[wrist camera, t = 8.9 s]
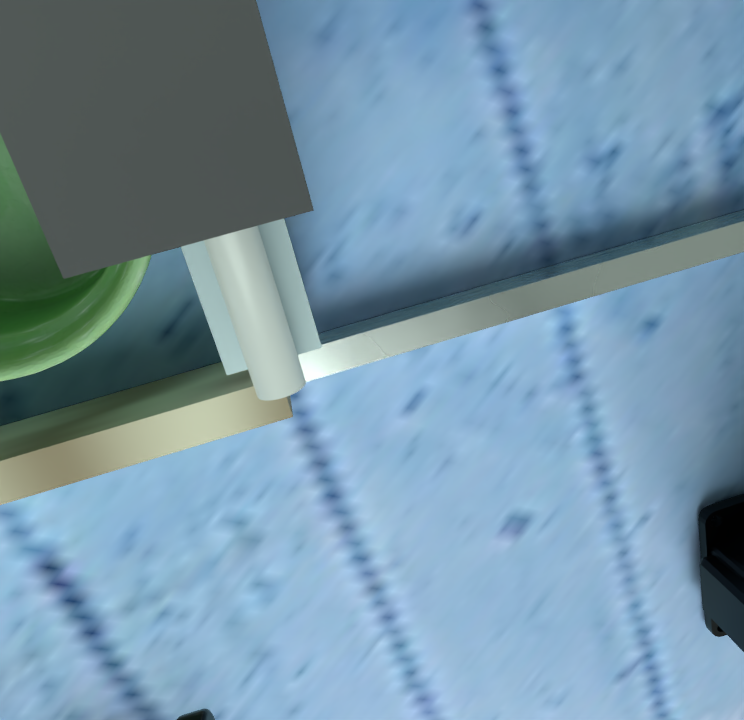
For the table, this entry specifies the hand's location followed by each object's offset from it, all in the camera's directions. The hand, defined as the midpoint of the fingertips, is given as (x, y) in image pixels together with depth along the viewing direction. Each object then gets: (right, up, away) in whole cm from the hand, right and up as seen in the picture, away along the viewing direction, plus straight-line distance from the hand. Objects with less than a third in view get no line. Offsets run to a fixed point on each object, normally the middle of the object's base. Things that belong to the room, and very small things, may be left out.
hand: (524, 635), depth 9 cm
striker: (-7, +10, +9) cm, 15 cm away
